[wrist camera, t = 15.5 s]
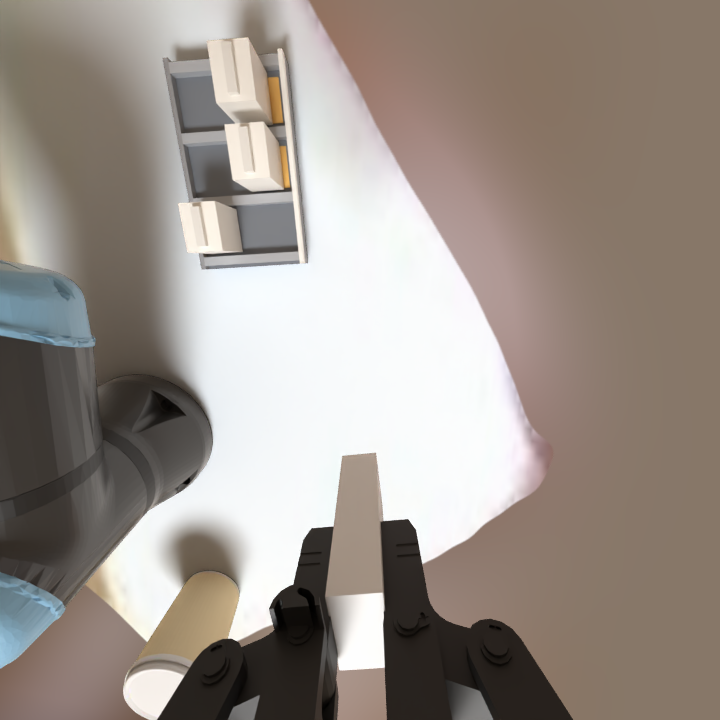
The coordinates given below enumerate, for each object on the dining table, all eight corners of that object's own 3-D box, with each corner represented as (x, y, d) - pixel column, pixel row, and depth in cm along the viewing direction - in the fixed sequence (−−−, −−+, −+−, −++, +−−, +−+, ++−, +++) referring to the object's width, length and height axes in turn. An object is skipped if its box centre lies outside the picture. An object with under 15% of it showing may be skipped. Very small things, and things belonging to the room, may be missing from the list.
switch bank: (212, 268, 35) (201, 269, 33) (177, 72, 30) (162, 57, 28) (307, 263, 35) (303, 263, 33) (288, 63, 30) (281, 48, 28)
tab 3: (212, 253, 33) (184, 252, 28) (205, 211, 32) (174, 202, 27) (242, 251, 33) (220, 250, 28) (236, 209, 32) (211, 199, 27)
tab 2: (252, 191, 31) (230, 178, 26) (245, 145, 30) (221, 121, 25) (284, 189, 31) (268, 175, 26) (279, 142, 30) (261, 118, 25)
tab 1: (239, 127, 30) (213, 100, 25) (231, 75, 29) (203, 36, 24) (272, 124, 30) (253, 96, 25) (267, 73, 29) (245, 32, 24)
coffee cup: (165, 580, 47) (101, 684, 36) (220, 556, 46) (172, 655, 34) (204, 624, 49) (156, 735, 38) (258, 602, 48) (224, 710, 37)
